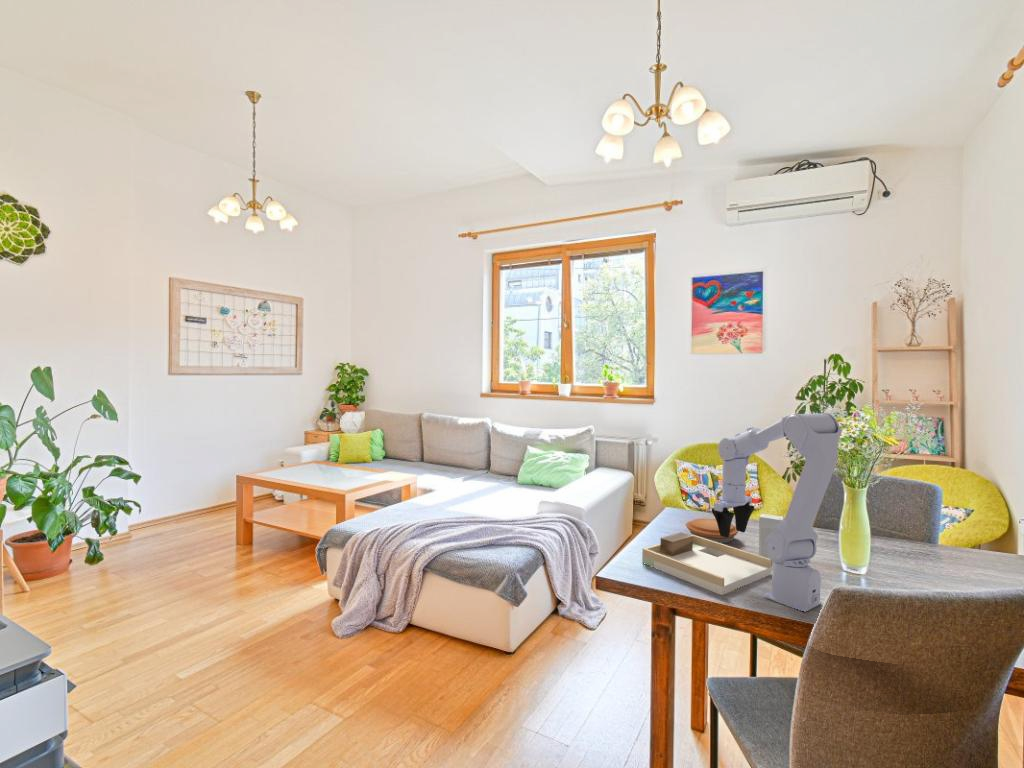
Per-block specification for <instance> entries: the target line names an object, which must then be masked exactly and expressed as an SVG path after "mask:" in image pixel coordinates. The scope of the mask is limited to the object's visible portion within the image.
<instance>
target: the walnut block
mask: <svg viewBox="0 0 1024 768" xmlns="http://www.w3.org/2000/svg"><path fill="white" fill-rule="evenodd" d="M691 535H692V534H688V533H684V532H681V531H680V532H676V533H674V534H669V535H665V536H663V537H660V543H659V544H660V552H662V553H664V554H667V555H670V556H675V555H678V554H681V553H685V552H688V551H691V550H692V549H693V536H691Z"/></svg>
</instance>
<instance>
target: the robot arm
mask: <svg viewBox="0 0 1024 768" xmlns="http://www.w3.org/2000/svg"><path fill="white" fill-rule="evenodd" d="M842 433H843V430H842V428H841V426H840V423H839V422H838V420H837V418H836V417H835V415H833V414H831V413H829V412H821V413H794V412H793V413H790V414H789V415H786V416H783V417H781V419H779V420H777V421H775V422H774V423H772V424H770V425H768V426H766V427H764V428H763V429H761V428H757V427H753V426H751V427H748V428H746V431H745V432H743V433H736V434H735V435H734V437H733V438H728V437H723V438H722V439H721V440H720V441H719V442H718V445H717V446H718V447H717V451H718V454H719V456H720V458H721V459H722V477H721V478H722V480H721V481H722V482H721V487H722V488H721V496H718V500H717V501H716V502H714V503H713V507H712V508H711V513H712V515H713V517H714V519H716V521H717V524H718V528H719V532H720V536H723V537H726V538H728V537H729V534H730V527H731V524H732V521H733V518H734V519H735V527H736V530H737V531H738V532H741V533H746V530H747V526H748V524H749V520H750V518H751V516H752V514H753V513H754V511H755V506H754V505H752V502H753V496H750V495H746V489H747V487H746V483H747V482H746V481H747V477H746V476H747V467H748V465H749V460H750V458H751V456H752V455H754V454H757V453H759V452H762V451H764V450H767V449H768V447H769V444H770V443H771V442H773V441H776V440H779V439H783V438H785V437H786V438H787V439H788V440H789V442H790V443H791V444H792V446H793V447H794V448H795V449H796V451H797V452H798V453H799V454H800V455H801V456H803V457H804V460H805V461H804V464H803V467H802V471H800V476H799V479H798V481H797V484H796V487H795V490H794V492H793V495H792V497H791V500H790V503H789V505H788V509H787V511H786V513H785V517H784V520H783V521H781V522H780V523H779V524H777V525H776V526H774V527H773V530H772V532H771V533H770V534H769V535H768V536H767V537H766V539H765V550H766V552H767V554H768V556H769V557H770V560H772V564H771V590H770V591H769V592H767V593H765V594H763V597H764V598H766V599H767V600H771V601H773V602H777V603H779V604H782V605H783V606H787V607H790V608H792V609H794V608H795V610H797V609H798V611H800V610H801V612H802V611H804V612H803V613H807V612H808V611H810V610H812V609H814V608H816V607H818V606H820V605H821V604H822V601H821V580H822V579H821V578H822V577H821V573H820V571H819V570H818V569H816V568H814V567H812V566H810V565H809V564H811V559H812V558H814V556H815V555H816V554H817V540H818V536H819V535H818V534H817V532H816V530H815V529H814V528H813V526H814V523H815V520H816V518H817V515H818V512H819V510H820V508H821V506H822V505H821V504H822V502H823V500H824V496H825V494H826V492H827V489H828V486H829V484H830V481H831V478H832V476H833V474H834V471H835V469H836V466H837V465H838V443H839V442H840V441H839V440H840V437H841V436H842ZM728 509H733V512H732V511H730V510H728ZM806 611H807V612H806Z"/></svg>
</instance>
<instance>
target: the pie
mask: <svg viewBox="0 0 1024 768" xmlns="http://www.w3.org/2000/svg"><path fill="white" fill-rule="evenodd" d="M685 526H686V528H687V529H688V530H689V533H690V535H692V534H693V535H696V536H699V537H702V538H705V539H708V540H712V541H715V542H718V543H721V544H724V545H727V544H728V543H729V544H730V543H731V542H732V540H733V539H734V537H735V536H737V534H738V533H739V531H737V530H736V525H733V524H732V523H731V527H730V534H729V537H728V538H726V537H723V536H720V532H719V528H718V524H717V521H716V519H715V518H695V519H692V520H689V521H687V522H686V523H685Z"/></svg>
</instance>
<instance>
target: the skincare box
mask: <svg viewBox="0 0 1024 768" xmlns="http://www.w3.org/2000/svg"><path fill="white" fill-rule="evenodd" d="M758 519H759V521H758V522H759V525H758V526H759V529H758V532H759V533H758V542H759V543H758V555H759V556H763V557H766V558H769V559H770V557H769V556H768V554H767V552H766V550H765V539H766V537H767V536H768V535H769V534H770V533H771V532H772V530H773V527H774V526H776V525H777V524H779V523H780V522H781V521H783V520H784V519H785V517H784V516H781V515H779V516H778V515H774V514H773V515H772V514H765V513H760V515H759V518H758Z"/></svg>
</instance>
